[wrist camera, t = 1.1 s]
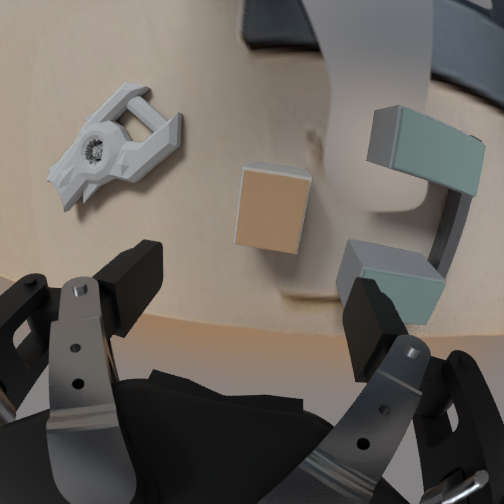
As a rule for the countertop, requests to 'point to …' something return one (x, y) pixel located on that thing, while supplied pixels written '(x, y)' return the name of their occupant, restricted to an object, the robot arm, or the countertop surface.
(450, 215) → the rail
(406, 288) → the block
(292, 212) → the block
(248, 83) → the countertop surface
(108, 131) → the grey flat plastic piece
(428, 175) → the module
